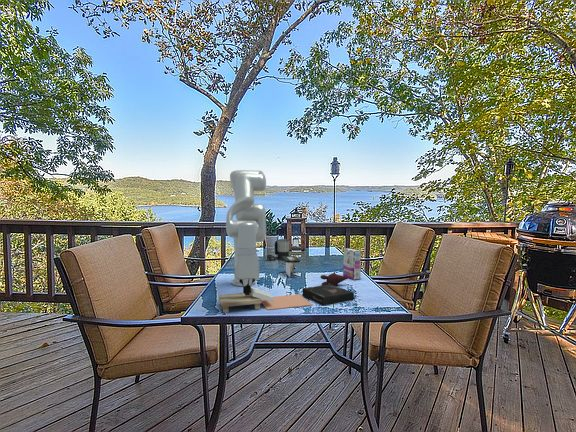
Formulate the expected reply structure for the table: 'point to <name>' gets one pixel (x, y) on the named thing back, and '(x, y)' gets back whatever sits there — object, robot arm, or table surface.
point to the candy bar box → (352, 263)
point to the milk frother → (280, 249)
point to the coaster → (261, 294)
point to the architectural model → (290, 263)
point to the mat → (286, 302)
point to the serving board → (238, 300)
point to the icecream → (333, 279)
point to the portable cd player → (327, 294)
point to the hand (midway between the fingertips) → (246, 294)
